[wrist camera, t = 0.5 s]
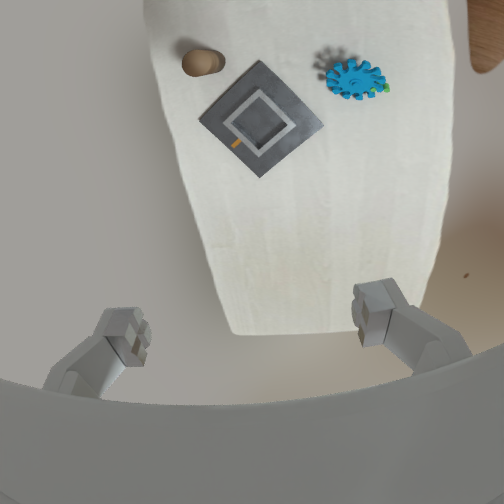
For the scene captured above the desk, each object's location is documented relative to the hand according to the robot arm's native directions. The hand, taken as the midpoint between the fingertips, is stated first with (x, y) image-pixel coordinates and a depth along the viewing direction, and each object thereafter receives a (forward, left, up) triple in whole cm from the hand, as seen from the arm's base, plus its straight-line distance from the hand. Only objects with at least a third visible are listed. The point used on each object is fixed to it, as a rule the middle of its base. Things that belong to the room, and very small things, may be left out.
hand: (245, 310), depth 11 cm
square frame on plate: (+5, -1, -46) cm, 47 cm away
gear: (-13, +4, -47) cm, 49 cm away
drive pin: (+3, -15, -46) cm, 49 cm away
